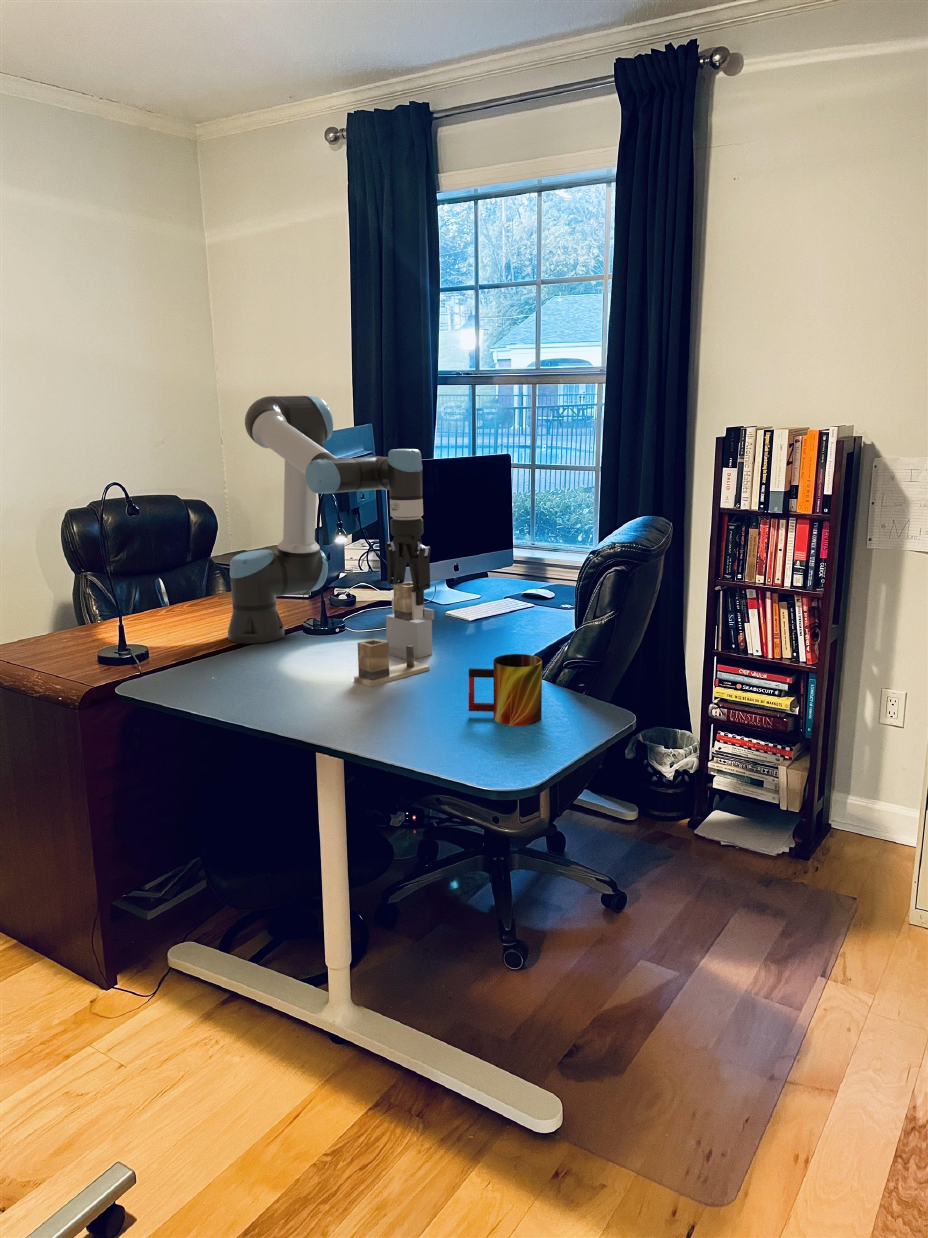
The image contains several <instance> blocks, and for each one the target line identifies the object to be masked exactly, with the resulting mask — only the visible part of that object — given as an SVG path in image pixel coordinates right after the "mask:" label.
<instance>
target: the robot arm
mask: <svg viewBox="0 0 928 1238" xmlns="http://www.w3.org/2000/svg"><path fill="white" fill-rule="evenodd" d="M245 413H246V414H245V416H244V427H245V431H246V433H247V435H248V436H249V438H250V439H251V440H252V441H253V442H254V443H255V444H256V445H258V446H260V447H261V448H264V449H270V450H272V451H273V452H274V453H276V454H277V455H278V456H280V457H281V458H282V459H284V473H283V475H284V480H283V483H284V484H283V488H284V489H283V526H282V527H283V528H282V530H283V534H282V537H283V538H282V539H281V541H280V542H279V543H278V544H277V548H276V549H277V550H276V551H277V553H276V554H275V553H273V551H272V550H271V549H259V550H257V549H256V550H249V551H245V552H241V553H239V554H236V555H235V556H234V557H232V558H231V560H230V562H229V577H230V589H231V590H230V591H231V601H232V602H231V604H232V614H231V617H230V622H229V625H228V630H227V639H228V640H229V641H230V642H233V643H236V644H237V643H238V644H245V645H246V644H251V645H252V644H265V643H271V642H274V641H278V640H281V639H283V638H284V637H285V627H284V626H285V625H284V624H283V621H282V619H281V616H280V614H279V612H278V609H277V597H283V596H290V595H295V594H296V595H297V594H306V593H307V594H308V593H311V592H314V591H317V590H319V589H320V588H321V587H323V585H324V584H325V582H326V580H327V577H328V573H329V572H328V570H329V566H328V563H329V562H328V561H327V556H326V554H325V553H324V551H322V550H321V546H320V545H319V544H318V543H317V541H316V539H315V538H316V516H317V515H316V514H317V513H316V512H317V511H316V508H317V494H324V495H329V494H336V493H337V494H338V493H347V492H360V491H372V490H373V491H374V490H376V491H377V490H386V491H388V492H389V511H390V517H392V518H391V519H390V522H389V523H390V534H391V535H392V536H393V539H392V541H390V542H385V543H384V547H385V552H386V573H387V574H386V575H387V580H386V581H387V585H392V586H393V584H399V583H404V582H405V578H406V570H407V564H408V566H409V573H410V578H411V582H412V583H413V588H414V590H411V591H412V592H411V594H412V619H413V620H416V619H420V618H423V604H424V605H425V591H426V590H430V589H431V567H430V566H431V565H430V556H431V551H432V549H431V547H430V546H425V545H423V542H422V539H421V536H423V534H424V519H423V518H422V516H423V515H424V504H423V503H424V500H423V470H424V469H423V462H422V453H421V451H420V450H419V449H416V448H397V449H390V450H389V451H388V456H379V455H375V456H374V455H370V456H366V457H349V458H348V457H347V458H339V457H336V456H335V455H333V454H332V453H330V452H329V451H328V450H326V449H325V448H324V444H325V442H326V441H328V440H330V439H331V437H332V435H333V433H334V419H333V415H332V412H331V409H330V408H329V405H328V404H327V402H326V401H325V400H324V399H322V398H321V397H319V396H313V395H278V396H277V395H269V396H263V397H261V398H259V399H257V400H255V401H254V402H253V403H252V404H250V406H249V407H248V408H247V411H246V412H245ZM418 585H419V586H418Z"/></svg>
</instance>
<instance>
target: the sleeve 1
mask: <svg viewBox="0 0 928 1238" xmlns="http://www.w3.org/2000/svg"><path fill="white" fill-rule="evenodd" d="M357 661H358V662H357V663H358V665H357V666H358V668H357V669H358V676H359V677H362V678H365V679H368V680H372V681H374V680H377V679H381V678H385V677H388V676H390V674H389V667H390V655H389V642H387V641H386V640H381V639H377V638H371V639H368V640H364V641H360V642H357Z"/></svg>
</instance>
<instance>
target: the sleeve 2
mask: <svg viewBox="0 0 928 1238" xmlns="http://www.w3.org/2000/svg"><path fill="white" fill-rule="evenodd" d="M418 586H419V585H418ZM392 587H393V597H394V618H397V619H401V620H405V621H412V620H413V619H412V594H411V592H412V591H411V590H414V588H413V583H412V581H406V582H405V581H404V583H399V584H393V585H392ZM424 608H425V603H424V604H423V618H425V617H424ZM420 619H421V618H420Z"/></svg>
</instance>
